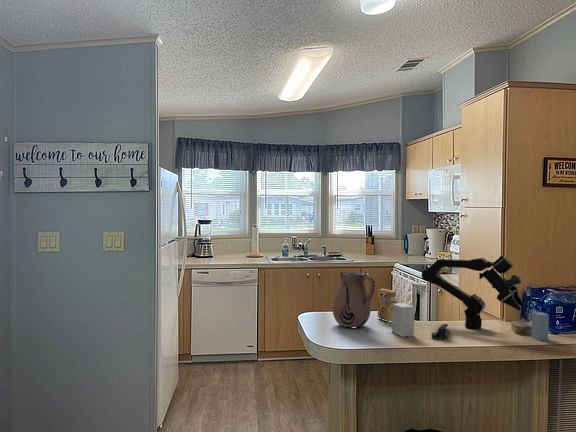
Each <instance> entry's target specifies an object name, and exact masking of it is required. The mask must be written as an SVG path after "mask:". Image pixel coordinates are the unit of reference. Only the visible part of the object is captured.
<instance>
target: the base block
mask: <svg viewBox="0 0 576 432" xmlns="http://www.w3.org/2000/svg"><path fill="white" fill-rule="evenodd" d="M510 328H511V330H512V332H513V333H514V334H515V335H525V336H532V322H528V321H527V322H526V321H515V320H511V327H510Z"/></svg>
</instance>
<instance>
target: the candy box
mask: <svg viewBox="0 0 576 432" xmlns="http://www.w3.org/2000/svg"><path fill="white" fill-rule="evenodd" d="M393 304H397V291H396V290H391V289H387V288H379V289H377V318H378V317H379V318H381V319H384V320H387V321H392V307H393Z"/></svg>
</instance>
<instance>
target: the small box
mask: <svg viewBox="0 0 576 432" xmlns="http://www.w3.org/2000/svg"><path fill="white" fill-rule="evenodd" d="M392 332H394V333H396V334H395V335H397V334H398V335H397V336H399V335H400V336H399V337H401V336H402V337H401V338H406V337H405V336H408V337H414V336H415V306H413V305H411V304H407V303H404V302H402V303H396V304H393V307H392V323H391V333H392ZM394 333H393V334H394Z"/></svg>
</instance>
